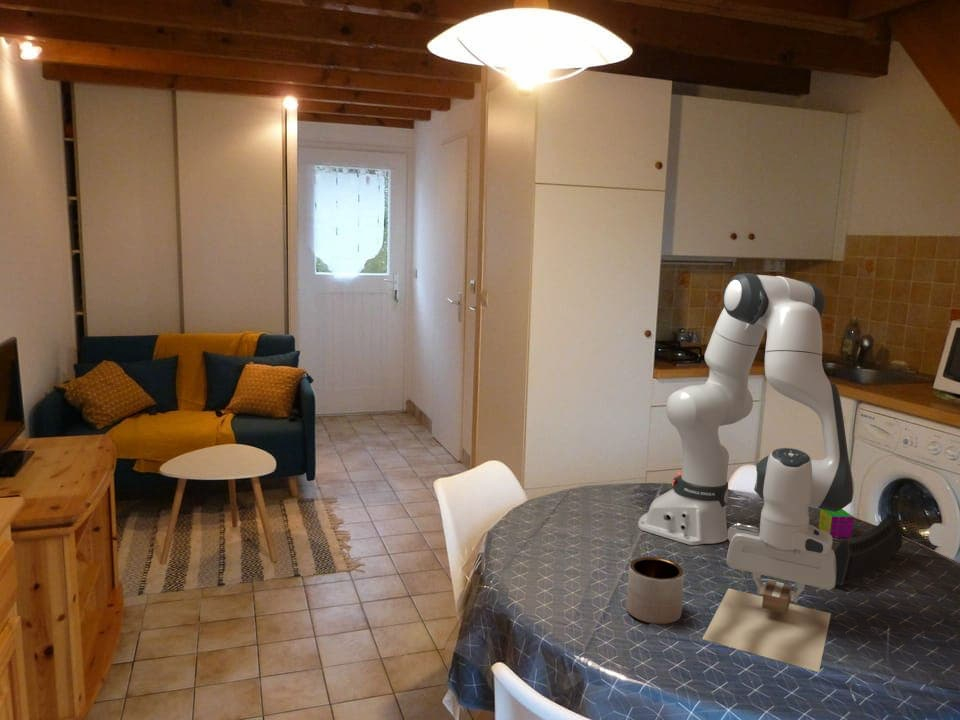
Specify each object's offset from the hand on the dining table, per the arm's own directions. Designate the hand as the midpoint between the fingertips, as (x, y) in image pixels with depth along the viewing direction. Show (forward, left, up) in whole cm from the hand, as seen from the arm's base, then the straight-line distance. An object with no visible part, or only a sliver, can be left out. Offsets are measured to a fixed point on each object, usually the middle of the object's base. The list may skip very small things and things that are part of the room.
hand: (777, 597), depth 148 cm
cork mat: (0, -6, -4) cm, 7 cm away
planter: (-21, -12, -4) cm, 25 cm away
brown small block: (0, 0, -1) cm, 1 cm away
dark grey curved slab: (+15, +34, -4) cm, 38 cm away
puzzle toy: (+7, +55, -4) cm, 56 cm away
